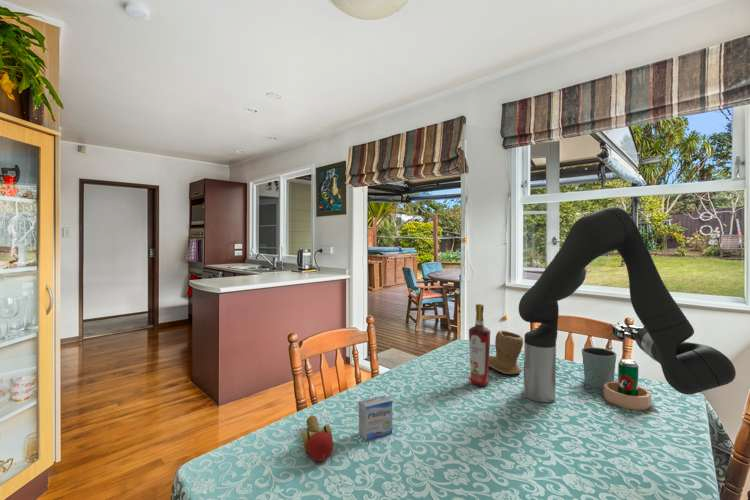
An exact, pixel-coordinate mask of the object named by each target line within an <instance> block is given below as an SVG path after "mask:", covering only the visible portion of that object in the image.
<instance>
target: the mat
mask: <svg viewBox="0 0 750 500" xmlns="http://www.w3.org/2000/svg"><path fill="white" fill-rule="evenodd" d="M597 392H598V394H599V395H600V396H601V398H602V400H603V402H604V404H605V405H606V406H608V407H615V408H621V409H624V408H623V407H620V406H617V405H614V404H612V403H610V402H608V401H607V400H606V399H605V398H604V391H601V390H598V391H597ZM641 411H643V412H651V413H657V414H659V413H660V412H659V411H658V410H657V409H656V407H655V406H654V405H653V404H652V403H651V405H650V408H649V409H646V410H641Z"/></svg>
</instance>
